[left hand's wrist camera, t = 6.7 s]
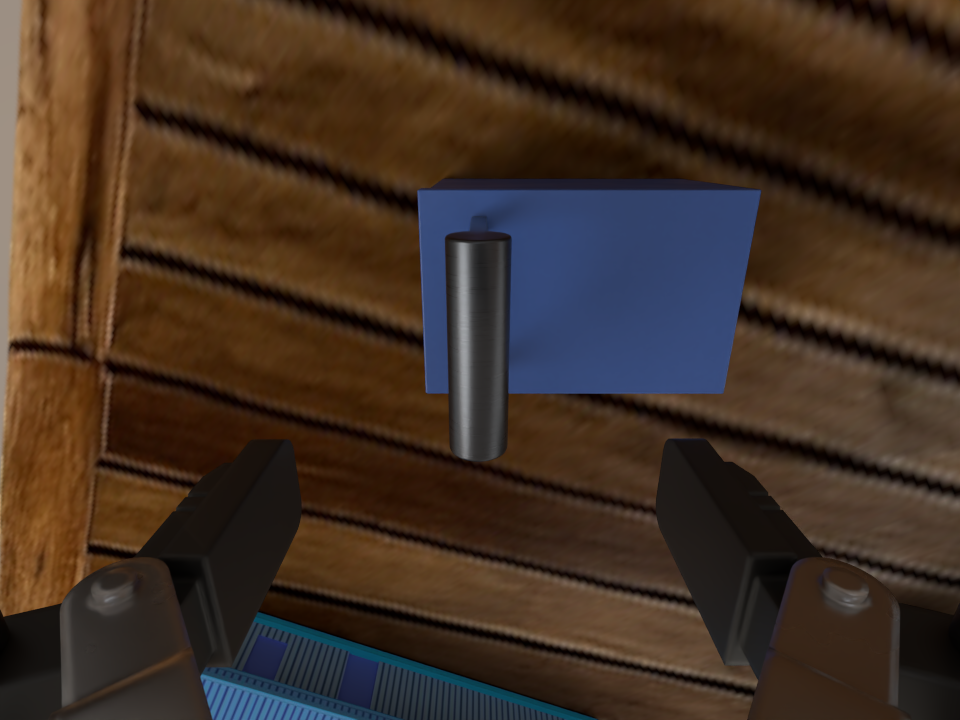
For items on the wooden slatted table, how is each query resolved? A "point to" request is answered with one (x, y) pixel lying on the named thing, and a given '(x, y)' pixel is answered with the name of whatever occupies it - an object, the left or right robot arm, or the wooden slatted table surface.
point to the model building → (350, 683)
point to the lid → (576, 295)
